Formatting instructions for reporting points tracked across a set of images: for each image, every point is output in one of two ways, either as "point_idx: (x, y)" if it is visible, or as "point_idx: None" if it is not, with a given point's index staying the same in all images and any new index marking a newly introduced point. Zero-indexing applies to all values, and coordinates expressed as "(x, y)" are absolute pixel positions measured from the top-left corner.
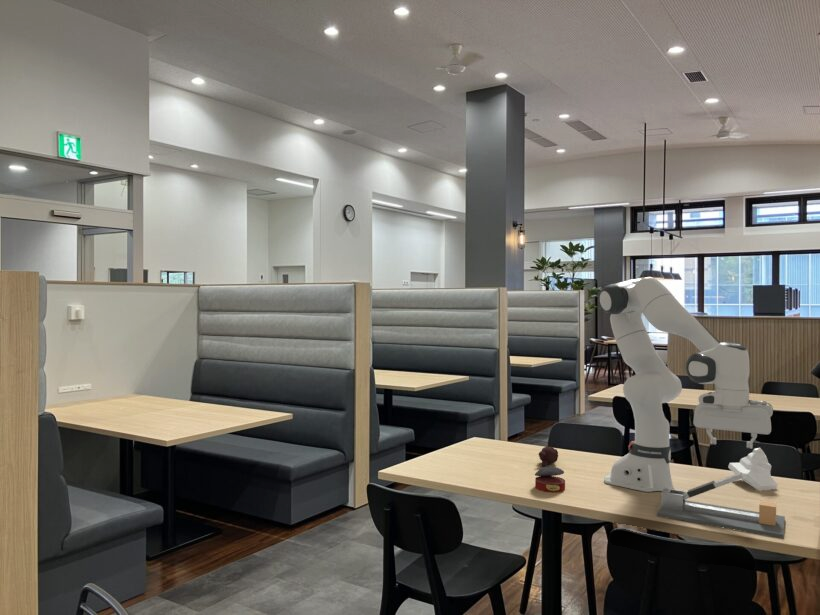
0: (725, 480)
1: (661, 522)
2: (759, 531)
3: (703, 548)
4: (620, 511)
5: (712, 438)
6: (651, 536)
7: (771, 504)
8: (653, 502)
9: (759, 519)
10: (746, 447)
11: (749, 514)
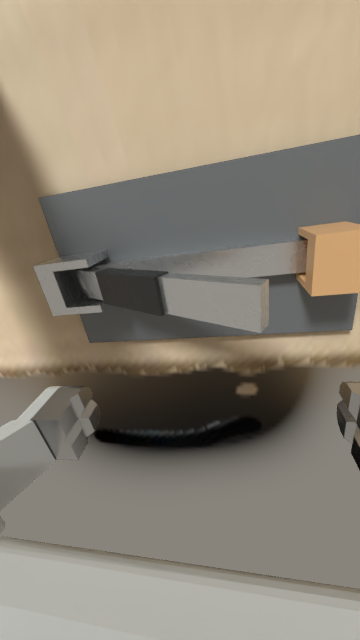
0: (201, 319)
1: (116, 367)
2: (296, 331)
3: (212, 440)
4: (37, 351)
5: (54, 459)
6: (136, 431)
7: (353, 266)
8: (34, 244)
9: (299, 281)
10: (338, 422)
11: (272, 264)
